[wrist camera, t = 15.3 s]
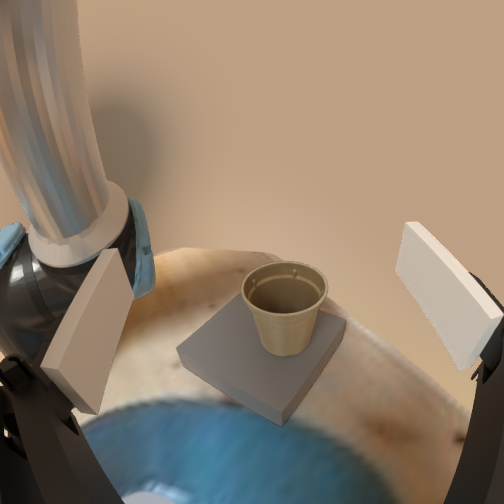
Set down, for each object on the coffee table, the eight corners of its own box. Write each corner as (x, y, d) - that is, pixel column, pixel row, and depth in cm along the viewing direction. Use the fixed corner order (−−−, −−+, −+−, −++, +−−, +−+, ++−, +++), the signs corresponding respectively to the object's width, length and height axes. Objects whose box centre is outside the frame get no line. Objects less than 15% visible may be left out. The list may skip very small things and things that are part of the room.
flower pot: (237, 361, 33) (228, 308, 29) (258, 309, 41) (253, 257, 36) (317, 373, 31) (324, 320, 26) (325, 317, 38) (330, 264, 34)
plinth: (183, 366, 37) (175, 347, 35) (252, 303, 48) (250, 284, 46) (281, 427, 29) (282, 412, 27) (342, 339, 39) (346, 320, 37)
